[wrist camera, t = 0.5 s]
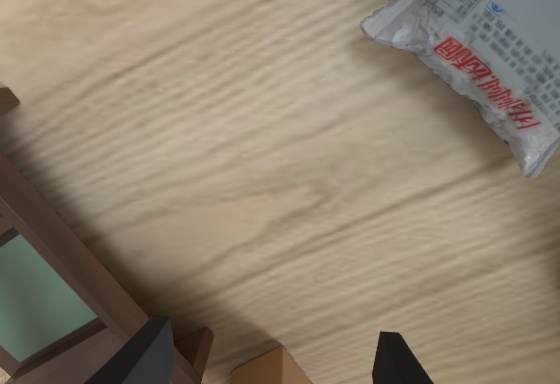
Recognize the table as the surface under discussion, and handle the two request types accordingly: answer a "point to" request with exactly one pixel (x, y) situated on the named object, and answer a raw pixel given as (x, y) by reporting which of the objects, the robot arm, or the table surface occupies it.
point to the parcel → (270, 370)
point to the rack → (63, 295)
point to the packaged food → (489, 62)
